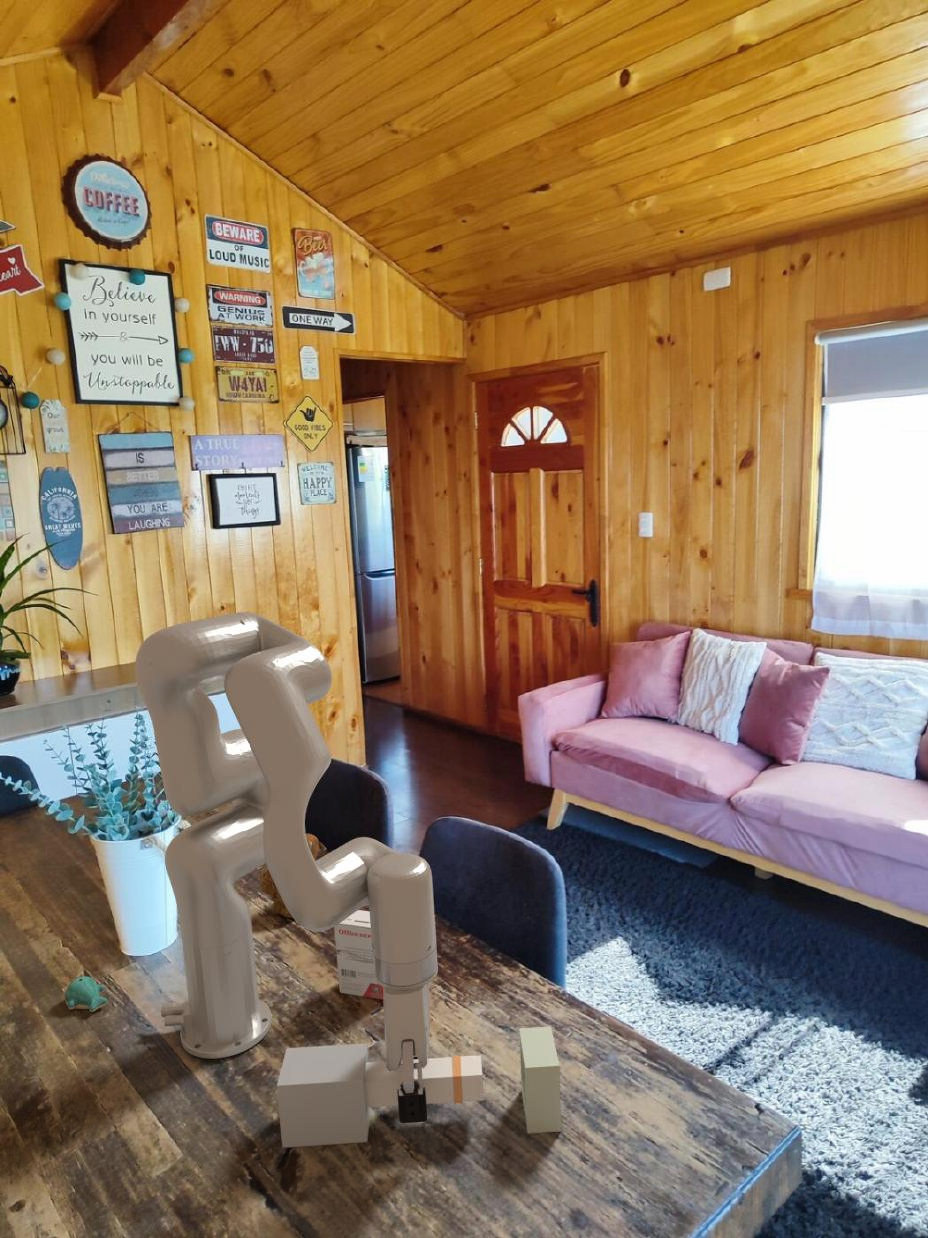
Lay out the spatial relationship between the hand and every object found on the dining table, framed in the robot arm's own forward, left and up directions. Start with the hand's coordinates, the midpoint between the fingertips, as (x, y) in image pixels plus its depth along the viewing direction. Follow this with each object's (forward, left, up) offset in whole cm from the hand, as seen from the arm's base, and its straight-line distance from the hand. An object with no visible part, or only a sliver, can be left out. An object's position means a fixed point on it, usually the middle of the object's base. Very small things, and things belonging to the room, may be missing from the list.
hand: (414, 1090), depth 100 cm
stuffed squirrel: (-23, +54, -4) cm, 58 cm away
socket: (+15, 0, -4) cm, 16 cm away
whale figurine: (-51, +28, -4) cm, 58 cm away
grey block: (-11, 0, -4) cm, 11 cm away
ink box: (-8, +27, -4) cm, 29 cm away
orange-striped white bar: (-4, 0, -1) cm, 4 cm away
